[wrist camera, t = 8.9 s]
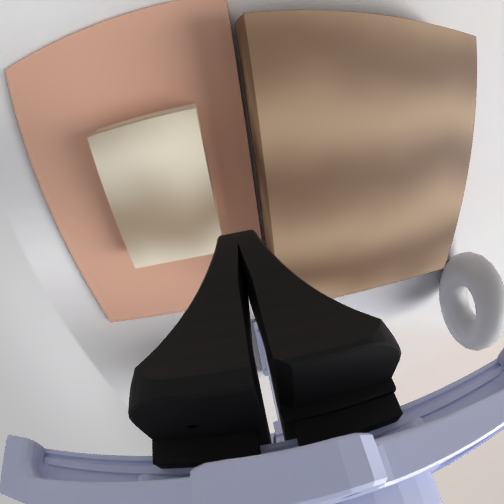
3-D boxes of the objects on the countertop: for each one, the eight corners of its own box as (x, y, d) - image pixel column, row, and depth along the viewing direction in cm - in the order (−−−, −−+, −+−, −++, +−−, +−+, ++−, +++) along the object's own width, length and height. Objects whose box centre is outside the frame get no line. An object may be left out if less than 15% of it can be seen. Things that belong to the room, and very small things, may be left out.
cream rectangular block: (135, 268, 19) (139, 250, 21) (224, 251, 19) (222, 234, 21) (87, 137, 14) (98, 128, 15) (195, 107, 14) (196, 102, 16)
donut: (442, 236, 25) (506, 309, 17) (466, 228, 25) (529, 294, 17) (425, 306, 31) (467, 373, 23) (447, 297, 31) (490, 360, 23)
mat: (268, 291, 25) (268, 295, 25) (111, 319, 25) (110, 322, 24) (224, -7, 12) (225, -8, 12) (8, 69, 12) (4, 69, 11)
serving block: (420, 240, 25) (444, 268, 22) (269, 273, 24) (280, 310, 21) (436, 32, 14) (475, 36, 11) (234, 22, 13) (243, 13, 10)
